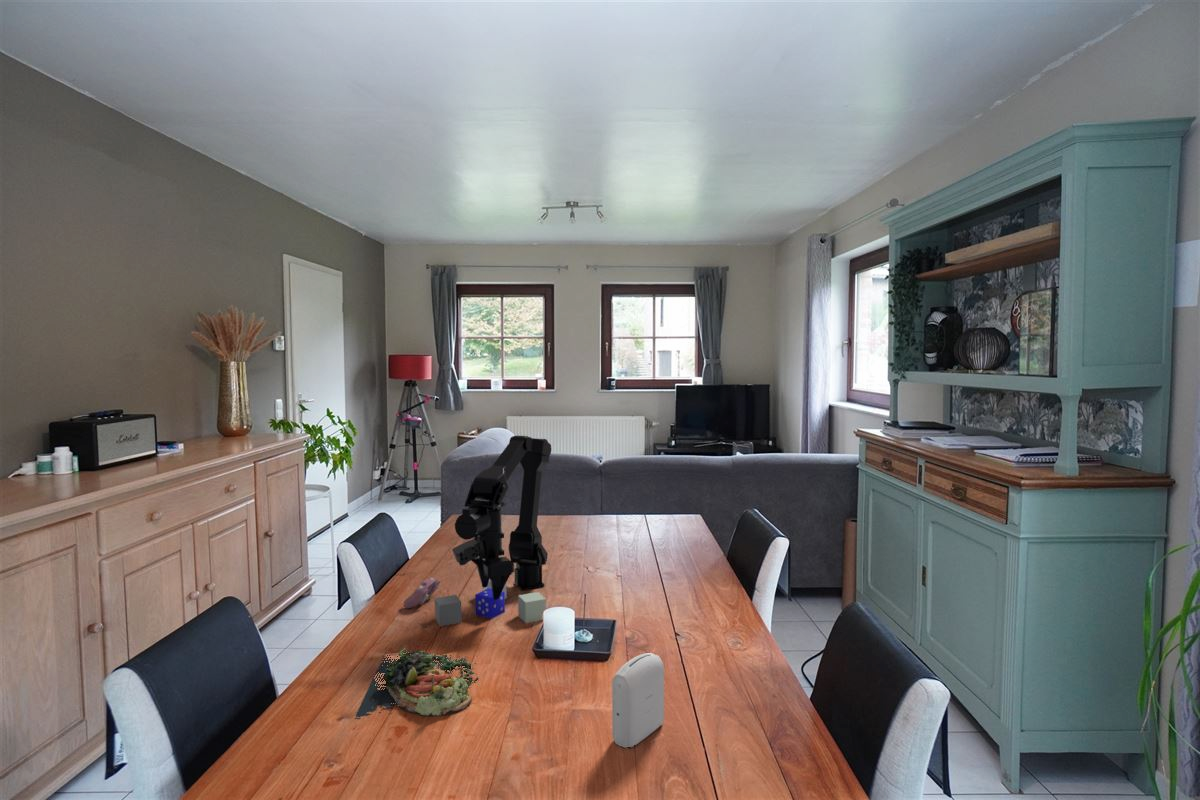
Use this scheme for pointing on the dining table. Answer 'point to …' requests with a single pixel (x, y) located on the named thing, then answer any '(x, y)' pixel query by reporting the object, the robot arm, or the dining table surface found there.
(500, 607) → the die
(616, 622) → the dining table surface
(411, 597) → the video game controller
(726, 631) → the dining table surface
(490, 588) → the off-white block
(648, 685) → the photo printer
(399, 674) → the plated dish
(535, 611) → the sage green block
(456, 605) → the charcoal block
